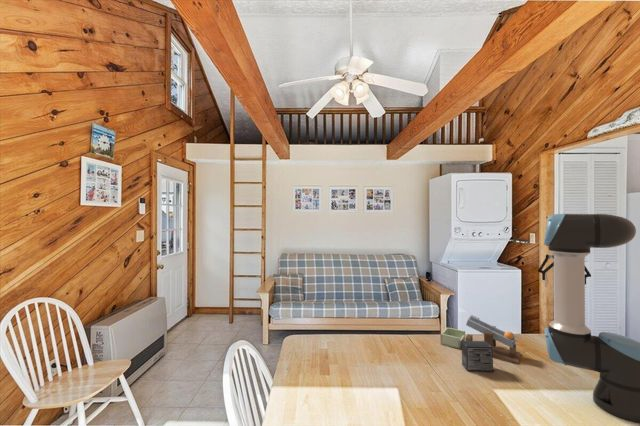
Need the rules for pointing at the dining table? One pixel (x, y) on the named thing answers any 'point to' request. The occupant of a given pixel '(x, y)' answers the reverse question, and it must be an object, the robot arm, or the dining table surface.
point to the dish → (452, 337)
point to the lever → (490, 330)
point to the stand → (499, 349)
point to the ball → (509, 335)
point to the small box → (477, 356)
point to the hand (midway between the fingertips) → (563, 288)
